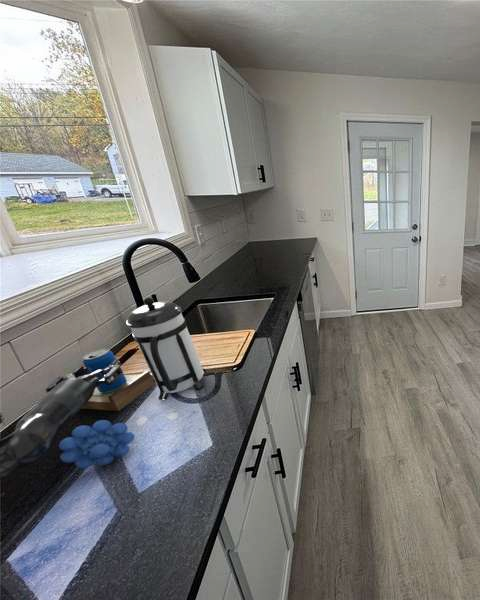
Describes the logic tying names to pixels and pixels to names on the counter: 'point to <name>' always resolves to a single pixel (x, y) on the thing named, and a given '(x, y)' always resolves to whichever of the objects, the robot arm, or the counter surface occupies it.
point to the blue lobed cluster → (96, 444)
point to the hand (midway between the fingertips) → (100, 365)
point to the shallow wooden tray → (121, 393)
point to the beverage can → (102, 361)
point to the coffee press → (166, 346)
